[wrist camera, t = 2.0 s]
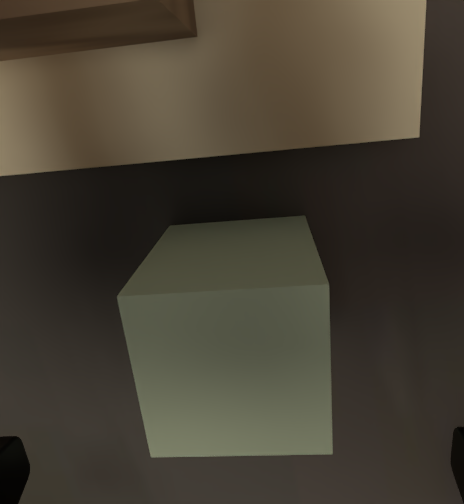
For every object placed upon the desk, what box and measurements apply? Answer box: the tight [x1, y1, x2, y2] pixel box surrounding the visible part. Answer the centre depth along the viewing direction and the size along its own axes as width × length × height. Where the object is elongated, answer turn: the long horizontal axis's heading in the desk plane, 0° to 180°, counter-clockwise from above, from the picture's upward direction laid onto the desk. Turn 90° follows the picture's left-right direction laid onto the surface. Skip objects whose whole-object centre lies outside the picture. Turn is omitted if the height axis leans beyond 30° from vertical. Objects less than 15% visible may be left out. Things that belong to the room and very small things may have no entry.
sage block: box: [117, 215, 333, 457], centre depth 13 cm, size 5×5×6 cm
